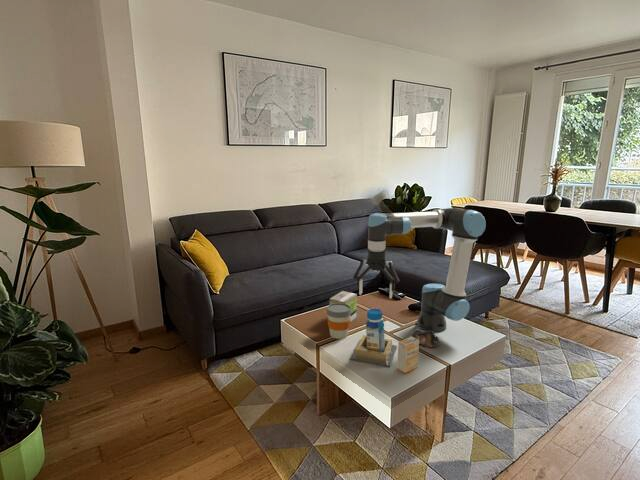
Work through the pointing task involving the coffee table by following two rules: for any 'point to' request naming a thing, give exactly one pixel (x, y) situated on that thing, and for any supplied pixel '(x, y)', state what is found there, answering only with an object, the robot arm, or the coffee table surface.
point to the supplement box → (408, 354)
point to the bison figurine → (426, 338)
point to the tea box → (346, 301)
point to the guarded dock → (374, 353)
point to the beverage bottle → (375, 331)
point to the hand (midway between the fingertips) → (375, 295)
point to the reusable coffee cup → (339, 320)
